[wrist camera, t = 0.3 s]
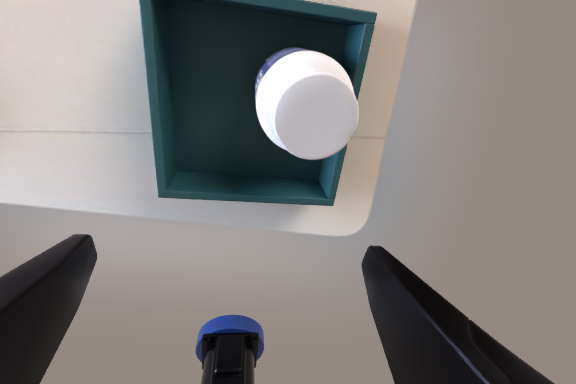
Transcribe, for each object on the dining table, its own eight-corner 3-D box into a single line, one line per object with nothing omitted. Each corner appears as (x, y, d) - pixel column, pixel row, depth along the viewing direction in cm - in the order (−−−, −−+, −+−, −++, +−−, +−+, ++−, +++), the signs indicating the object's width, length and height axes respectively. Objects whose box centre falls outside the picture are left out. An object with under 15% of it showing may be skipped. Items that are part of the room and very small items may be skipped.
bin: (322, 183, 26) (333, 206, 23) (171, 174, 24) (158, 197, 20) (355, 17, 20) (377, 12, 17) (158, -15, 18) (135, -28, 14)
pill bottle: (243, 60, 20) (238, 76, 12) (316, 36, 20) (366, 34, 11) (267, 131, 23) (277, 187, 14) (332, 111, 23) (381, 154, 14)
